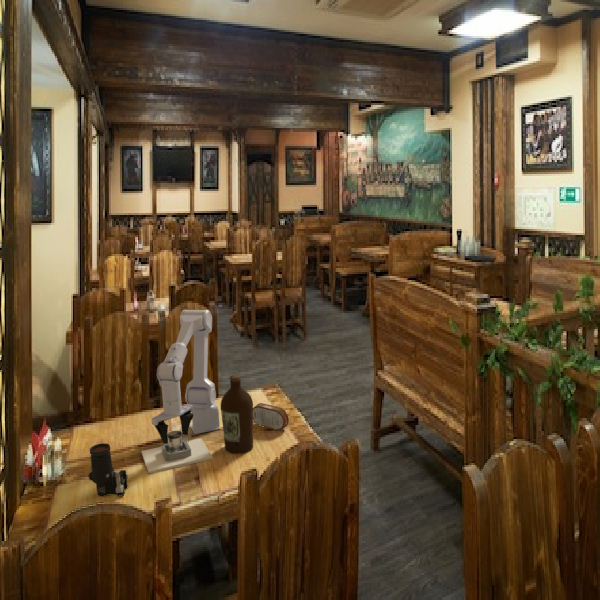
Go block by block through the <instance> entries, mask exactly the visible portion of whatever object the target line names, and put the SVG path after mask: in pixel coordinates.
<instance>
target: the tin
mask: <svg viewBox="0 0 600 600" xmlns="http://www.w3.org/2000/svg"><path fill="white" fill-rule="evenodd" d="M289 419H290V418H289V416H288V413H287V412H286V411H285V410H284V409H283V408H282V407H280V406H276V405H271V404H267V403H262V402H260V403H257V404H256V405H255V406H253V423H255V424H256V425H258V426H259V425H261V426H260V427H262V426H264V427H263V428H265V427H267V428H266V429H269V428H271V429H270V430H273V429H276V430H275V431H277V430H280V431H282V430H284V429H285V428H287V426H288V425H289V424H290V422H289V421H290V420H289Z"/></svg>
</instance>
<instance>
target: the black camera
mask: <svg viewBox="0 0 600 600" xmlns="http://www.w3.org/2000/svg"><path fill="white" fill-rule="evenodd" d="M89 454H90V463H91V471H90V472H89V474H88V476H87V477H88V480H89V481H92V482H93V483H94V484H95V485H96V495H97V496H99V497H105V496H104V495H107V494H115V495H116V497H117V498H119V497H120V496H119V495H121V498H124V497H125V495H124V494H126V488H127V487H128V480H129V475H128V474H127V469H121V470H119V471H115V469H114V467H113V462H112V455H111V445H110V444H109V443H105V442H103V443H97V444H95V445H93V446H91V447H90V448H89ZM127 489H128V488H127ZM107 496H108V495H107ZM118 496H119V497H118ZM123 496H124V497H123Z"/></svg>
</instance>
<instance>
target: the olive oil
mask: <svg viewBox="0 0 600 600" xmlns="http://www.w3.org/2000/svg"><path fill="white" fill-rule="evenodd" d="M229 378H230V380H229V382H230V384H229V385H230V387H229V389H227V391H226V392H225V394H224V395H223V396H222V398H221V401H220V413H221V420H222V421H221V422H222V430H223V431H222V432H223V439H224V449H225V451H226V452H227V453H229V454H232V455H233V454H234V455H239V454H240V455H241V454H244V453H245V454H246V453H248V452H251V450H253V448H254V420H253V408H254V401H253V399H252V396H251V394H250V393H249V392H247V391H246V390H245V389H244V388H243V387H242V380H241V375H239V374H233V375H231V376H230V377H229Z"/></svg>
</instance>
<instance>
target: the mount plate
mask: <svg viewBox="0 0 600 600" xmlns="http://www.w3.org/2000/svg"><path fill="white" fill-rule="evenodd" d="M187 441H189V443H187ZM182 445H183V450H182V451H177V452H173V453H169V446H168V443H167V444H165V443H163V444H162V445H160V446H159V447H154V448H149V449H146V450H141V455H142V456H141V457H142V458H143V461H144V464H145V467H147V468H146V470H148V471H147V473H150V474H153V473H158V472H162V471H166V470H171V469H175V468H179V467H180V468H181V467H184V466H188V465H193V464H196V463H200V462H205V461H209V460H213V455H212V453H211V452H210V450H209V449H208V447H207V446H206V444H205V442H204V441H203V439H202V438H201V437H200V438H195V439H192V440H182Z"/></svg>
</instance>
